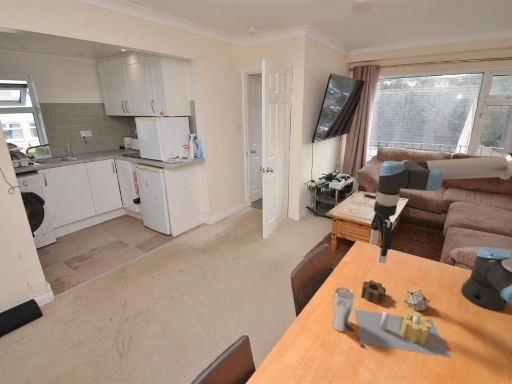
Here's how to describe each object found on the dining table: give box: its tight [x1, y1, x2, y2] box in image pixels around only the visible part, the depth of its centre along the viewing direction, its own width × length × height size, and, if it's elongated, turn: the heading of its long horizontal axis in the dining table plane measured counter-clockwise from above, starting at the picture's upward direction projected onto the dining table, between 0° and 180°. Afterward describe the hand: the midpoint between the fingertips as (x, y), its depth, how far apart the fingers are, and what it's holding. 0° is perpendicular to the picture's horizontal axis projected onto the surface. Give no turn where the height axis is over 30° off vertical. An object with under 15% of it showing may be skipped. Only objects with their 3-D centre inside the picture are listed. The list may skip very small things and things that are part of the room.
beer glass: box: [331, 286, 355, 333], centre depth 98 cm, size 7×7×15 cm
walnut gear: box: [360, 280, 387, 304], centre depth 113 cm, size 9×9×6 cm
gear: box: [399, 310, 431, 344], centre depth 94 cm, size 9×9×6 cm
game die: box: [403, 288, 431, 312], centre depth 107 cm, size 9×8×10 cm
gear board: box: [354, 309, 452, 358], centre depth 95 cm, size 28×16×8 cm, turn 79°
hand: (377, 252), depth 105 cm, fingers open, 13 cm apart
